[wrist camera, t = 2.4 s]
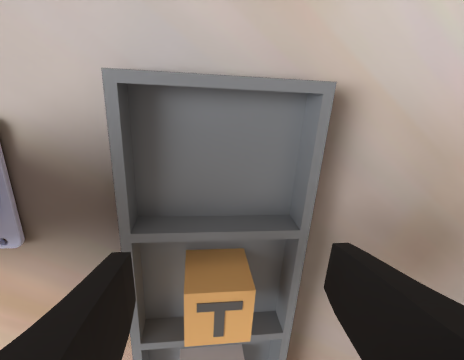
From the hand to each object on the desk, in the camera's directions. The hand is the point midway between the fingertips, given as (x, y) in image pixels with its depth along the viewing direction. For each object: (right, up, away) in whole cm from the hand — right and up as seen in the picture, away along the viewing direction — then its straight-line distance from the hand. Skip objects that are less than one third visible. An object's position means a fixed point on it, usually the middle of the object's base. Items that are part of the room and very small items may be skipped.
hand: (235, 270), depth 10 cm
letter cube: (-1, -3, +10) cm, 10 cm away
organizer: (-1, -3, +10) cm, 11 cm away
